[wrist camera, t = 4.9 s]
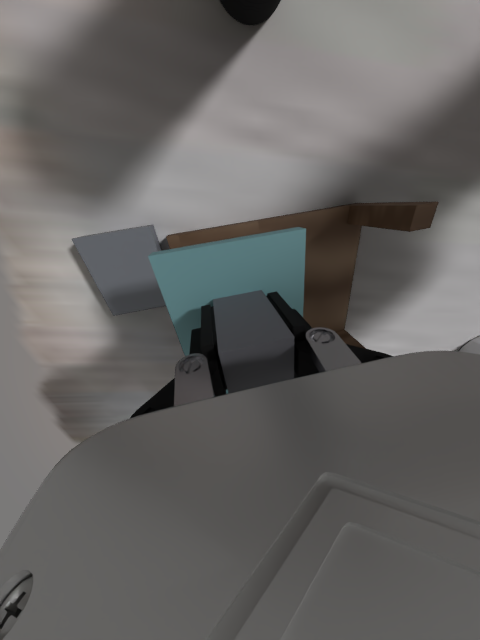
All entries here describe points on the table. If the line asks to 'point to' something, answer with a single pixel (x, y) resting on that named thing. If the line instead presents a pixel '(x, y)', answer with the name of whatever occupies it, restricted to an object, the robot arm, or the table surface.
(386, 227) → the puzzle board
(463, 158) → the table surface
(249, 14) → the drinking cup
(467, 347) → the white cup
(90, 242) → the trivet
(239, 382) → the cover
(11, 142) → the table surface
